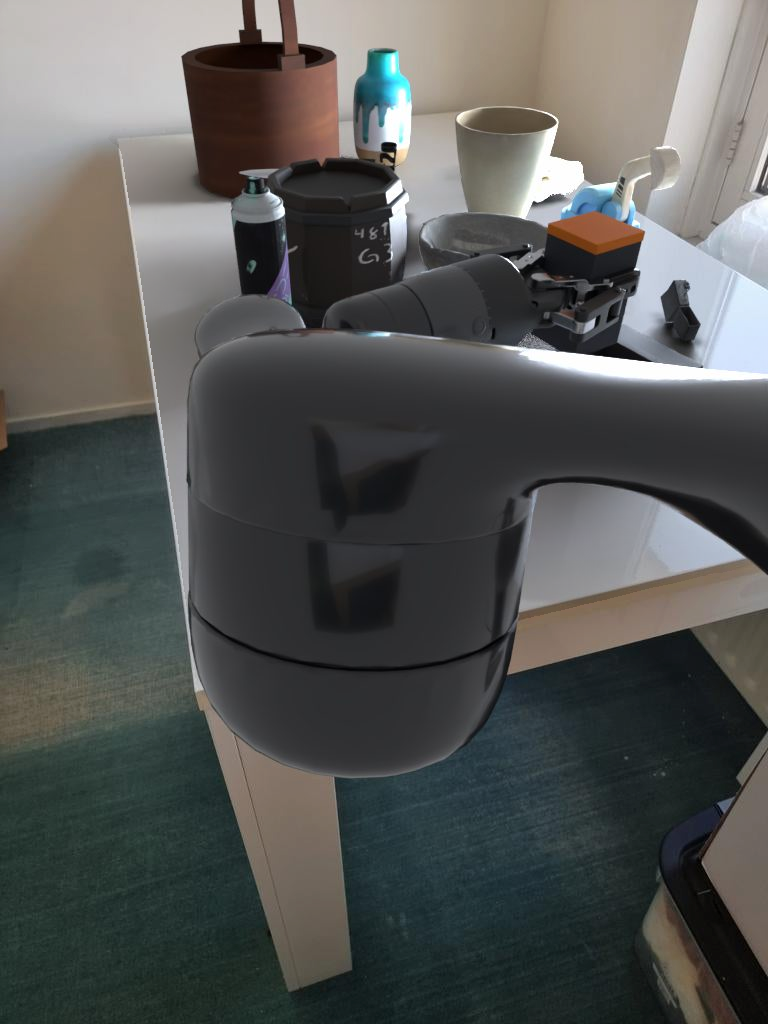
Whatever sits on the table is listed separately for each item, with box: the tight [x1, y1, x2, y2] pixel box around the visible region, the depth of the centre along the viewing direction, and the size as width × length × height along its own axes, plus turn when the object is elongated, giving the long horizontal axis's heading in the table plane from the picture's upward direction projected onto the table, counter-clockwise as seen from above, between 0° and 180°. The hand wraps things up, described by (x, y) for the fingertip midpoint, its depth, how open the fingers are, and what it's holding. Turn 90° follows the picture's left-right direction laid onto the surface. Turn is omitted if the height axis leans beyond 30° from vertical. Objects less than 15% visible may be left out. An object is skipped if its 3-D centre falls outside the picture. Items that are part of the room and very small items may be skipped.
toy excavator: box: [559, 145, 682, 229], centre depth 102 cm, size 9×17×17 cm, turn 28°
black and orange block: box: [530, 211, 646, 355], centre depth 63 cm, size 6×6×10 cm
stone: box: [532, 155, 585, 203], centre depth 132 cm, size 21×12×5 cm, turn 5°
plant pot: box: [454, 106, 559, 219], centre depth 113 cm, size 15×15×16 cm
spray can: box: [230, 176, 292, 305], centre depth 81 cm, size 6×6×20 cm
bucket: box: [181, 0, 341, 199], centre depth 124 cm, size 26×26×35 cm
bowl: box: [418, 211, 548, 271], centre depth 99 cm, size 18×18×8 cm
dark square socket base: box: [551, 323, 704, 369], centre depth 84 cm, size 12×16×4 cm
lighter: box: [659, 279, 702, 342], centre depth 92 cm, size 8×2×5 cm
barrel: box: [266, 157, 410, 328], centre depth 93 cm, size 18×18×16 cm
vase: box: [352, 47, 412, 168], centre depth 134 cm, size 11×11×19 cm
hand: (608, 267), depth 64 cm, fingers closed on black and orange block, 5 cm apart
